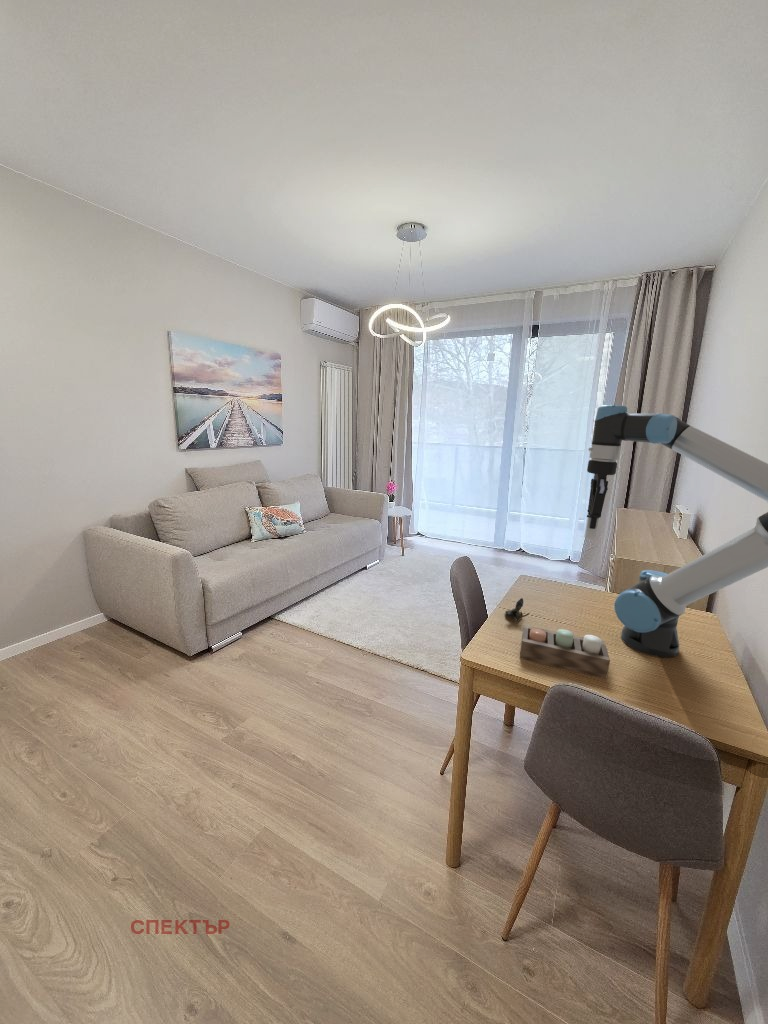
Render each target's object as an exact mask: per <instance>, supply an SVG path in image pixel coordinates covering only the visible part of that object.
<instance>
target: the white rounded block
mask: <svg viewBox="0 0 768 1024" xmlns="http://www.w3.org/2000/svg"><path fill="white" fill-rule="evenodd" d="M583 637H584V640H583V645H582V651H583V652H587V653H592V654H596V655H599V653H600V648H601V643H602V641H603V640H602V639H601V638H600V637H599V636H596V635H593V634H585V635H583Z"/></svg>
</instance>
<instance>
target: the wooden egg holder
mask: <svg viewBox="0 0 768 1024" xmlns="http://www.w3.org/2000/svg"><path fill="white" fill-rule="evenodd" d="M531 629H541V630H543V631H544V632H546V639H545V643H542V642H537V641H533V640H529V635H530V630H531ZM556 634H557V631H554V630H549V629H544V628H540V627H534V626H531V625H526V624H524V625H523V629H522V635H521V643H520V654H519V659H520V660H523V661H528V662H533V663H538V664H541V665H545V666H550V667H555V668H559V669H562V670H568V671H571V672H576V673H580V674H584V675H587V676H588V675H589V676H593V677H597V678H602V679H605V680H607V678H608V673H609V672H608V671H609V667H610V662H611V659H610V655H609V652H608V648H607V644H606V641H603V640H602V643H601V648H600V653H599V655H596V654H592V653H587V652H583V651H582V645H583V640H584V636H580V635H574V637H573V643H572V649H569V648H565V647H560V646H555V640H556Z"/></svg>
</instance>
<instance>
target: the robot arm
mask: <svg viewBox="0 0 768 1024" xmlns="http://www.w3.org/2000/svg"><path fill="white" fill-rule="evenodd" d="M593 426H594V427H593V431H592V432H593V433H592V439H591V444H590V445H591V447H588V451H589V458H590V459H589V460H588V463H587V469H586V472H587V473H589V474H593V475H594V476H593V478H591V481H590V491H589V499H588V507H587V514H586V518H587V521H586V525H585V531H584V538H585V539H588V540H589V539H590V540H596V536H597V529H598V525H599V519H601V518H602V517H601V516H602V513H603V512H602V511H603V508H604V502H605V498H606V495H607V492H608V485H609V481H608V479H607V476H615V475H616V473H617V468H618V467H617V466H618V462H617V461H618V460H619V458H620V453H621V449H622V441H623V442H624V441H625V442H628V441H629V442H636V443H637V442H638V443H651V444H655V445H656V444H659V445H663V446H665V447H666V448H668V449H671V450H672V451H673V452H676V453H678V454H679V455H682V456H684V457H685V458H687V459H689V460H691V461H693V462H695V463H696V464H698V465H700V466H702V467H703V468H706V469H707V470H709V471H710V472H713V473H714V474H717V475H718V476H720V477H722V478H724V479H725V480H728V481H729V482H731V483H733V484H734V485H736V486H738V487H741V488H742V489H744V490H746V491H748V492H749V493H751V494H753V495H755V496H756V497H758V498H760V499H762V500H764V501H766V502H767V503H768V462H766V461H764V460H761V459H760V458H758V457H755V456H753V455H751V454H749V453H747V452H745V451H744V450H740V449H738V448H737V447H734V445H730V444H729V443H727V442H725V441H722V440H721V439H719V438H716V437H714V436H712V435H710V434H708V433H706V432H705V431H702V430H701V429H699V428H696V427H694V426H692V425H690V424H688V423H686V422H685V421H682V419H680V418H679V417H677V416H675V415H673V414H667V413H639V412H638V413H634V412H633V413H631V412H629V411H628V406H626V405H619V404H617V405H614V404H603V405H600V406H599V407H598V408H597V410H596V415H595V420H594V425H593ZM755 523H756V524H755V526H754V527H753V528H751V529H749V530H747V531H746V532H743V533H742V534H740V535H738V536H736V537H734V538H732V539H730V540H729V541H727V542H725V543H723V544H721V545H720V546H717V547H715V548H714V549H712V550H711V551H708V552H706V553H705V554H703V555H701V556H699V557H697V558H695V559H694V560H692V561H689V562H688V563H686V564H684V565H682V566H680V567H678V568H677V569H675V570H673V571H671V572H669V573H667V572H664V571H663V572H662V571H658V570H653V569H643V570H642V571H641V572H640V574H639V577H638V578H639V579H638V583H636V584H634V585H632V586H631V587H629V588H627V589H625V590H623V591H621V592H620V593H619V594H618V596H616V598H615V600H614V606H613V607H614V612H615V615H616V617H617V619H618V620H619V621H620V622H621V624H622V625H624V626H623V627H622V629H621V634H620V638H621V640H622V642H624V644H626V645H627V646H629V647H630V648H632V649H633V650H636V651H638V652H641V653H642V654H646V655H649V656H654V657H658V658H673V657H676V656H677V655H678V654H679V650H680V641H679V635H678V629H677V627H678V623H679V618H680V616H682V615H684V614H685V612H686V606H688V605H690V604H693V603H694V602H696V601H698V600H701V599H703V598H705V597H707V596H709V595H711V594H713V593H715V592H717V591H719V590H722V589H724V588H726V587H729V586H731V585H733V584H735V583H737V582H739V581H741V580H743V579H746V578H747V577H750V576H752V575H754V574H756V573H758V572H760V571H763V570H765V569H767V568H768V511H767V512H766V513H763V514H761V515H760V516H758V517H757V518H756V522H755Z"/></svg>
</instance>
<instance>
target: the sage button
mask: <svg viewBox="0 0 768 1024" xmlns="http://www.w3.org/2000/svg"><path fill="white" fill-rule="evenodd" d="M556 632H557V634H556V640H555V646H560V647H565V648H569V649H572V643H573V637H574V636H575V634H574V633H573V632H572V631H571V630H568V629H562V628H559V629H557V630H556Z"/></svg>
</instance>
